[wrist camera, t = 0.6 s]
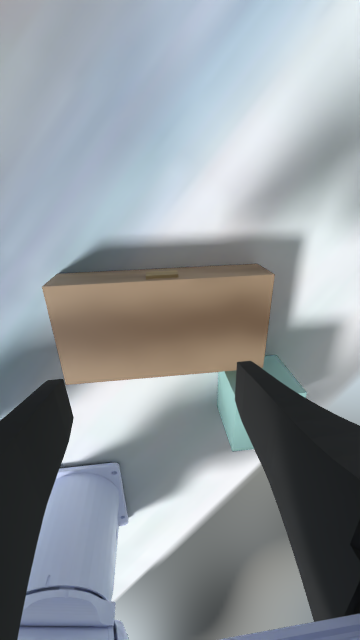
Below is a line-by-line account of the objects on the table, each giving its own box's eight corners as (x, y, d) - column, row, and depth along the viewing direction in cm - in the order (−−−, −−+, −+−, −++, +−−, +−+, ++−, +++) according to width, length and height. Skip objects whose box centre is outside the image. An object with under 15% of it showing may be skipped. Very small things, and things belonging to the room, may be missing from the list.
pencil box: (249, 347, 23) (262, 367, 20) (76, 360, 21) (65, 384, 19) (257, 261, 20) (275, 271, 17) (56, 270, 18) (41, 283, 16)
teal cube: (269, 400, 25) (295, 444, 21) (216, 405, 25) (232, 451, 20) (275, 354, 23) (306, 392, 19) (218, 359, 23) (236, 399, 18)
